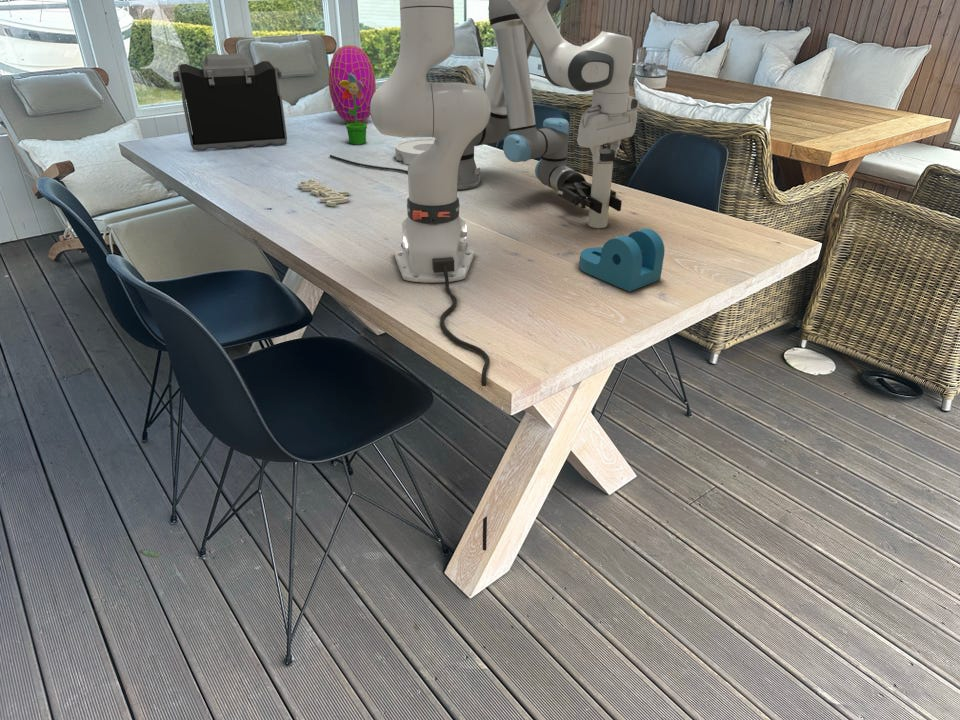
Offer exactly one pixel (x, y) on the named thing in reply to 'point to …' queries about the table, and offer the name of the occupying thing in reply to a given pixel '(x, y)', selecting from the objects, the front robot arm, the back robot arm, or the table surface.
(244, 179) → the table surface
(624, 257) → the camera mount
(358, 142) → the potted flower
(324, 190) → the decorative sign
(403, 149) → the ashtray
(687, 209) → the table surface
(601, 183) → the beige long cylinder
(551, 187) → the back robot arm
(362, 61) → the decorative egg
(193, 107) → the electronic device
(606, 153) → the lid
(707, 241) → the table surface
